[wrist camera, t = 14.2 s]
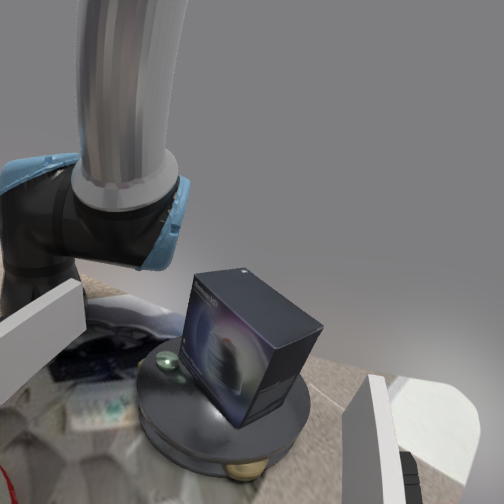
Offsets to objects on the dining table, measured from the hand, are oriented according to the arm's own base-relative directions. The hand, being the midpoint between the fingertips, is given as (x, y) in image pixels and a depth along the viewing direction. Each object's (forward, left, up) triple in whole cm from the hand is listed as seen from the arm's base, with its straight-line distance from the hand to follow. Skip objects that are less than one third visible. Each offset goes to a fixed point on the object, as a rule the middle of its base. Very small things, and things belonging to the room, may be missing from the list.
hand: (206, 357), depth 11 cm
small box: (0, +12, -14) cm, 18 cm away
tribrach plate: (0, +12, -18) cm, 22 cm away
